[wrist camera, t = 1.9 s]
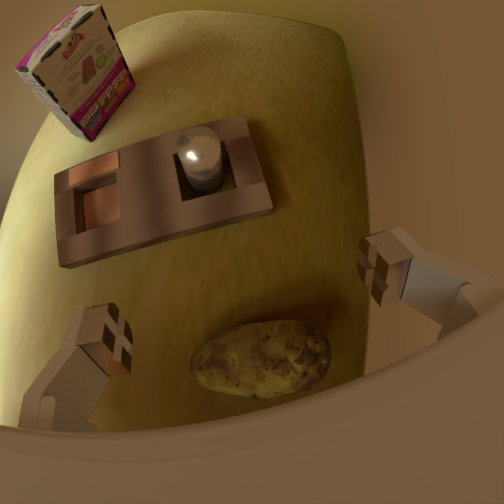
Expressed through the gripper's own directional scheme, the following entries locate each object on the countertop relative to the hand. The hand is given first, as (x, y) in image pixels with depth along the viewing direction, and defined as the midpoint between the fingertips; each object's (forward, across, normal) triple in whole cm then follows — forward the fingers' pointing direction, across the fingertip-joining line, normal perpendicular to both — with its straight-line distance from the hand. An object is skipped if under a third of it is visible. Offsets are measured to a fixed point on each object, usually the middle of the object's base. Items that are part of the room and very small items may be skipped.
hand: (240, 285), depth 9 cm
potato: (+11, 0, +20) cm, 23 cm away
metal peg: (+25, +1, +6) cm, 26 cm away
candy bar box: (+36, +13, -5) cm, 39 cm away
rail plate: (+25, +7, +6) cm, 27 cm away
